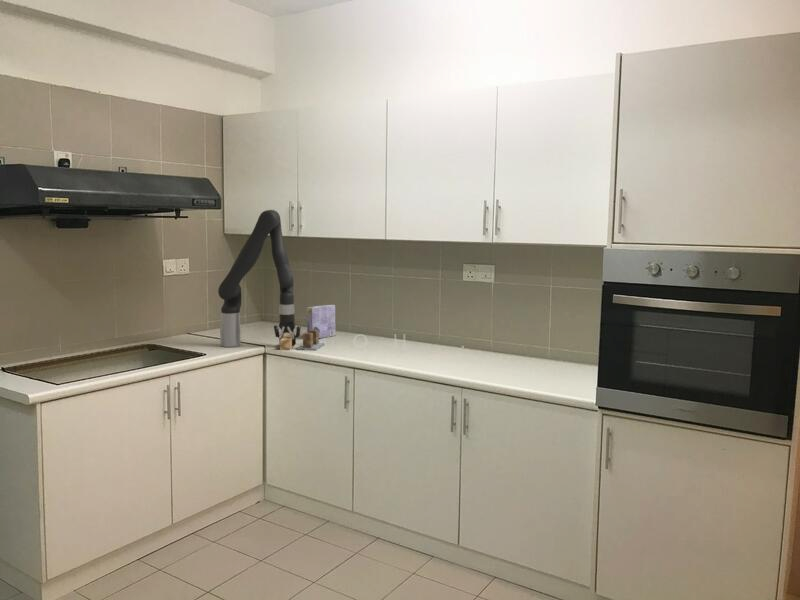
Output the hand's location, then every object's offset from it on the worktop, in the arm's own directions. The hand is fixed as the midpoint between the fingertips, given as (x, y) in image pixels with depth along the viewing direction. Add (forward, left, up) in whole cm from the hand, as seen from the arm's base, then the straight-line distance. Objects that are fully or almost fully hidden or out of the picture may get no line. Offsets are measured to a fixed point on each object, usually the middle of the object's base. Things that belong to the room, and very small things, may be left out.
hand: (287, 345), depth 329 cm
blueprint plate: (+12, +2, -1) cm, 12 cm away
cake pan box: (+9, +30, -1) cm, 31 cm away
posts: (+12, +2, -1) cm, 12 cm away
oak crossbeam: (0, 0, -1) cm, 1 cm away
